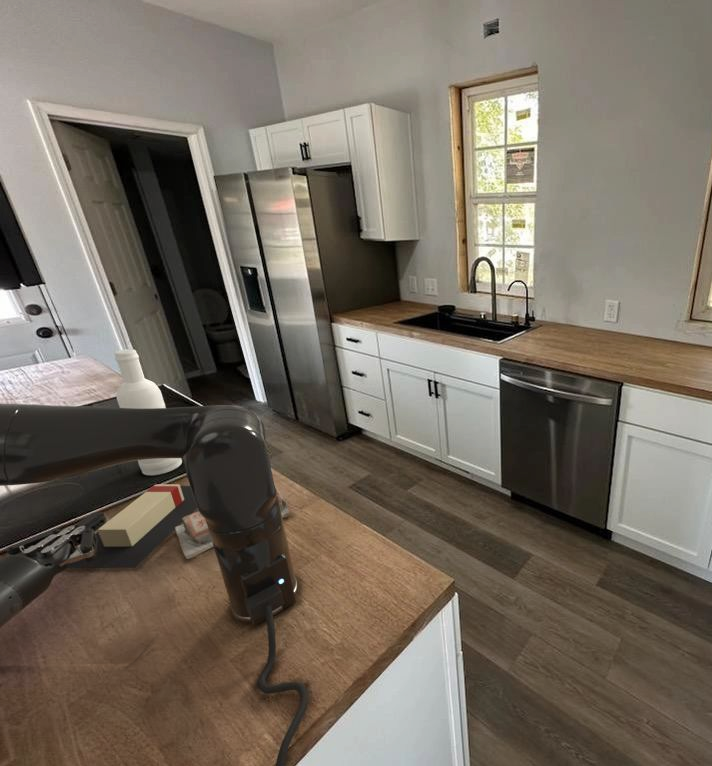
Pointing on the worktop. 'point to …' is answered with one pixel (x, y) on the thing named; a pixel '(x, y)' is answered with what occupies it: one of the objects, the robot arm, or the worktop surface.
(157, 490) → the carton
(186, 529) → the packaged product
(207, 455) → the robot arm
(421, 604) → the worktop surface
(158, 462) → the bottle
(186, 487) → the mat
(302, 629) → the worktop surface
